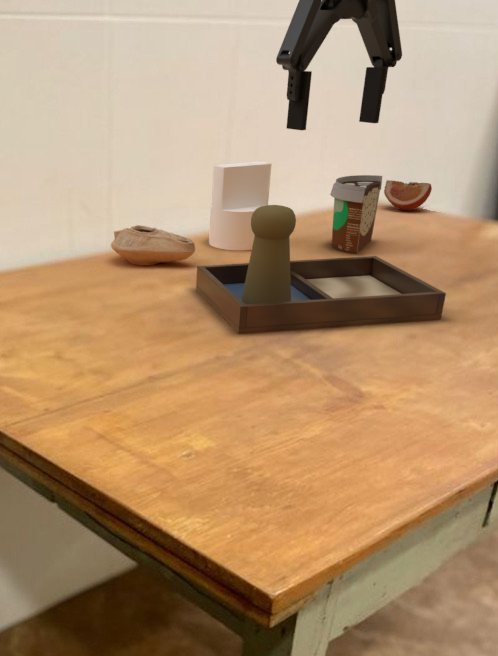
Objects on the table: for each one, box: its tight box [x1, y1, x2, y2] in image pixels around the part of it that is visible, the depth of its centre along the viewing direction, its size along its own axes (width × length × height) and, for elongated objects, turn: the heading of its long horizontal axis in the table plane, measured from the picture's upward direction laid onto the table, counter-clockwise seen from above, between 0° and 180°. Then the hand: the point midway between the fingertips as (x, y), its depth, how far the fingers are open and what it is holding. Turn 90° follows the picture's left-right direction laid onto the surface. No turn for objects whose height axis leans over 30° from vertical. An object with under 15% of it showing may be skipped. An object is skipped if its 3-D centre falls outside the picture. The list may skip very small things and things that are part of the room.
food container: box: [329, 174, 383, 255], centre depth 125 cm, size 12×6×10 cm, turn 152°
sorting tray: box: [195, 255, 447, 335], centre depth 101 cm, size 25×18×4 cm
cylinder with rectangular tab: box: [208, 160, 272, 251], centre depth 126 cm, size 9×9×12 cm
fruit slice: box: [383, 179, 433, 211], centre depth 152 cm, size 8×7×5 cm
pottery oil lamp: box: [110, 224, 196, 266], centre depth 118 cm, size 9×12×7 cm
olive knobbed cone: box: [242, 204, 297, 304], centre depth 97 cm, size 6×6×11 cm
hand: (333, 126), depth 107 cm, fingers open, 13 cm apart
